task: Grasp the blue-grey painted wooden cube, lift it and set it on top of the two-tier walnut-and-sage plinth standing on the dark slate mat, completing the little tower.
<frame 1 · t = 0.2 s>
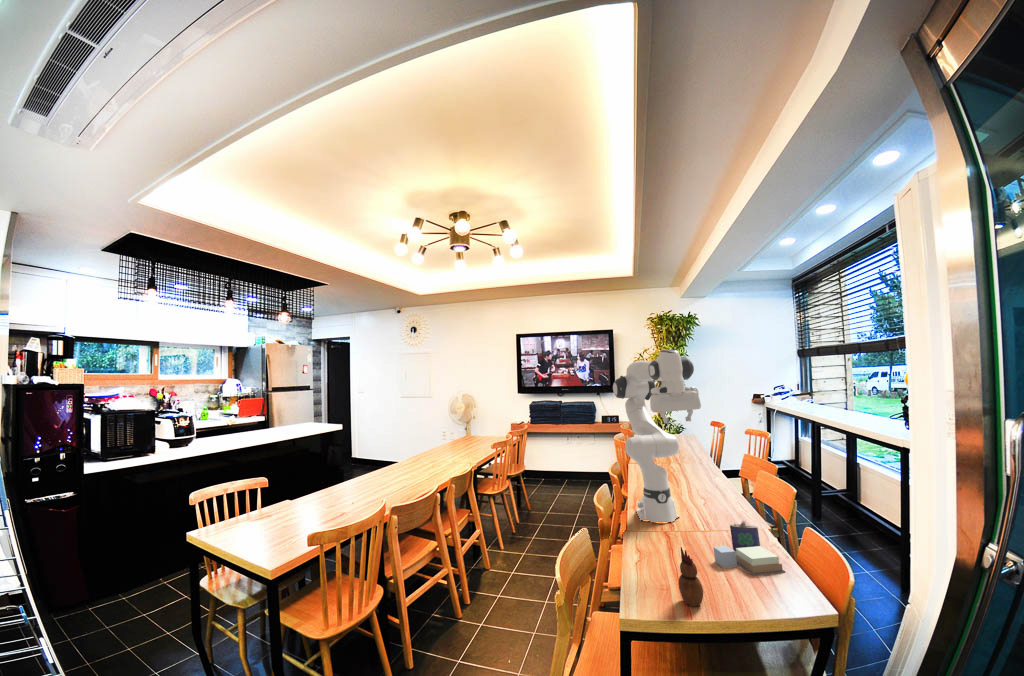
hand: (677, 422, 165), 47 cm above the table, fingers open, 8 cm apart
slate mat: (758, 566, 137), on the table
cube: (726, 564, 140), on the table
wooden figurine: (692, 603, 117), on the table
plinth: (757, 558, 137), on the slate mat
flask: (747, 551, 149), on the table
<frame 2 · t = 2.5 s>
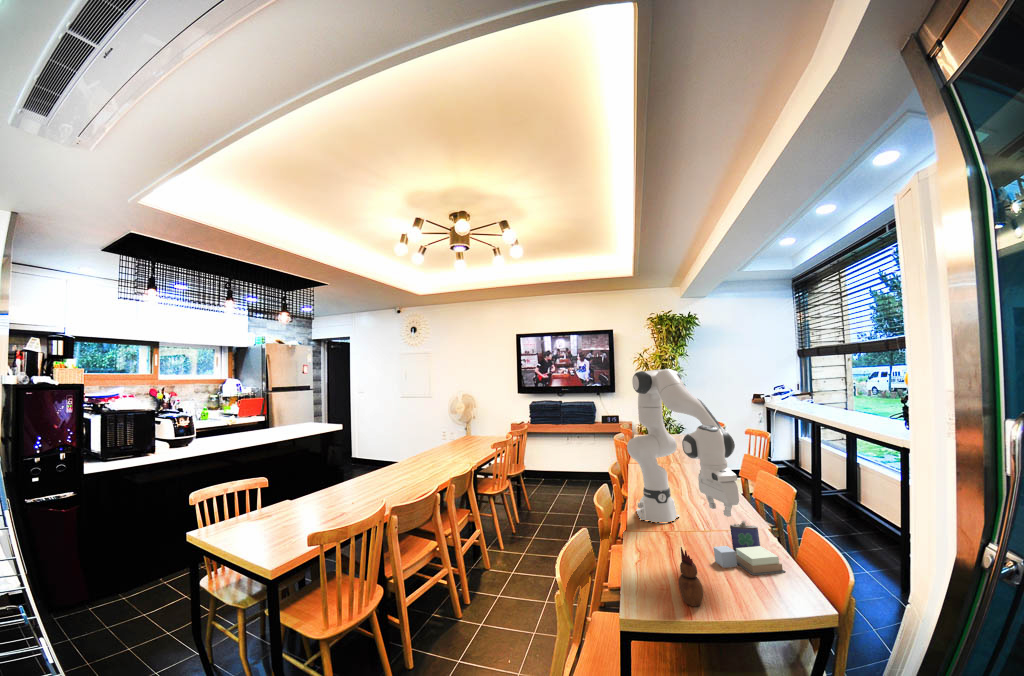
hand: (720, 512, 142), 17 cm above the table, fingers open, 8 cm apart
nothing on the table moved.
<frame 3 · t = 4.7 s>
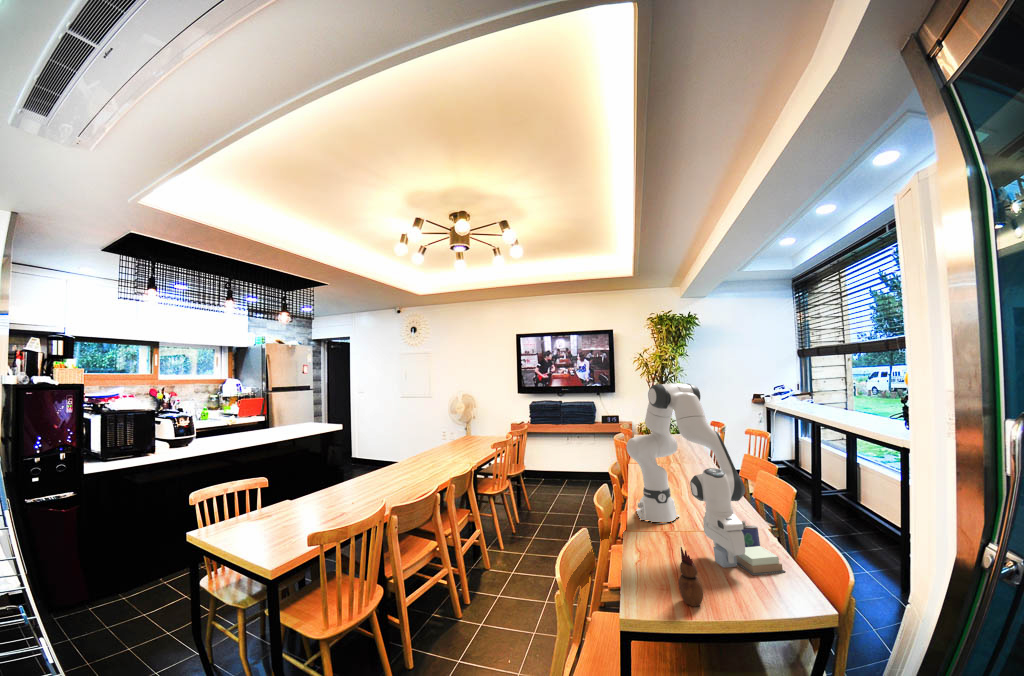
hand: (725, 558, 141), 2 cm above the table, fingers closed on cube, 5 cm apart
cube: (726, 563, 140), on the table, touching gripper
everything else where it was.
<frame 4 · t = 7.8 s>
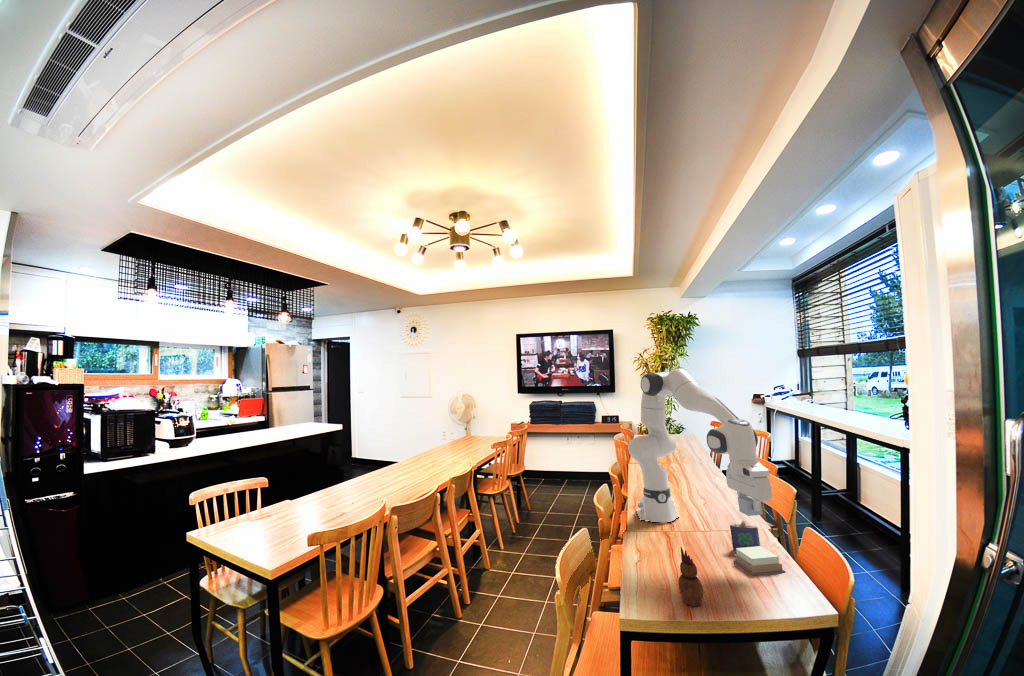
hand: (750, 507, 139), 19 cm above the table, fingers closed on cube, 5 cm apart
cube: (750, 513, 139), point 17 cm above the table, touching gripper
everything else where it was.
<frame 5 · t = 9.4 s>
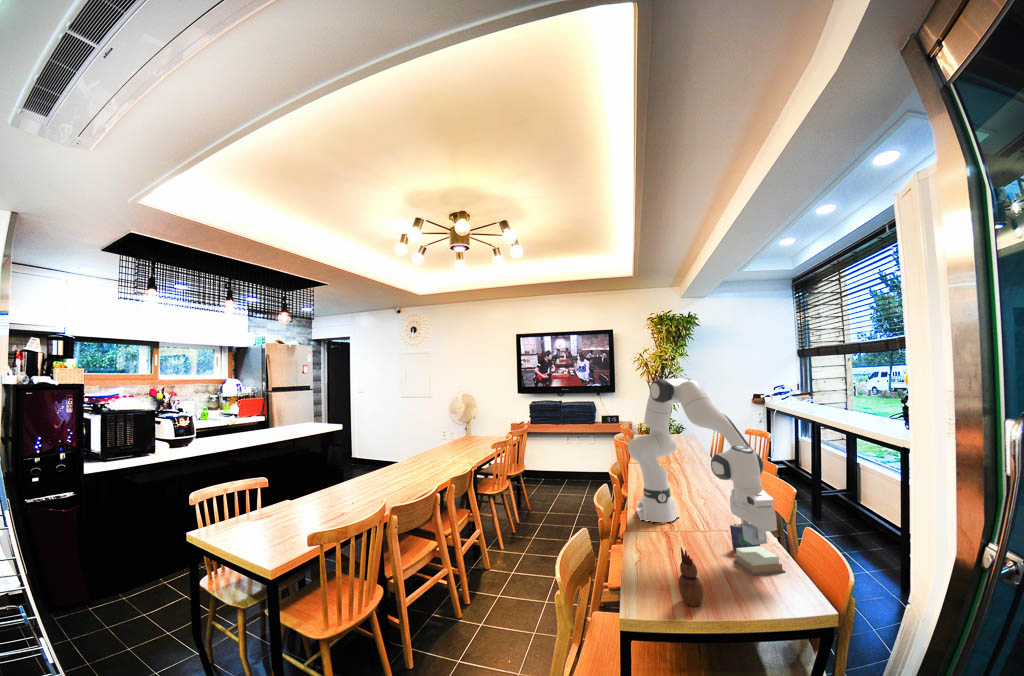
hand: (754, 536, 138), 10 cm above the table, fingers closed on cube, 5 cm apart
cube: (755, 541, 138), point 8 cm above the table, touching gripper
everything else where it was.
when the fingers open (7 cm above the table, at t = 10.8 s): cube stays where it is, resting on plinth.
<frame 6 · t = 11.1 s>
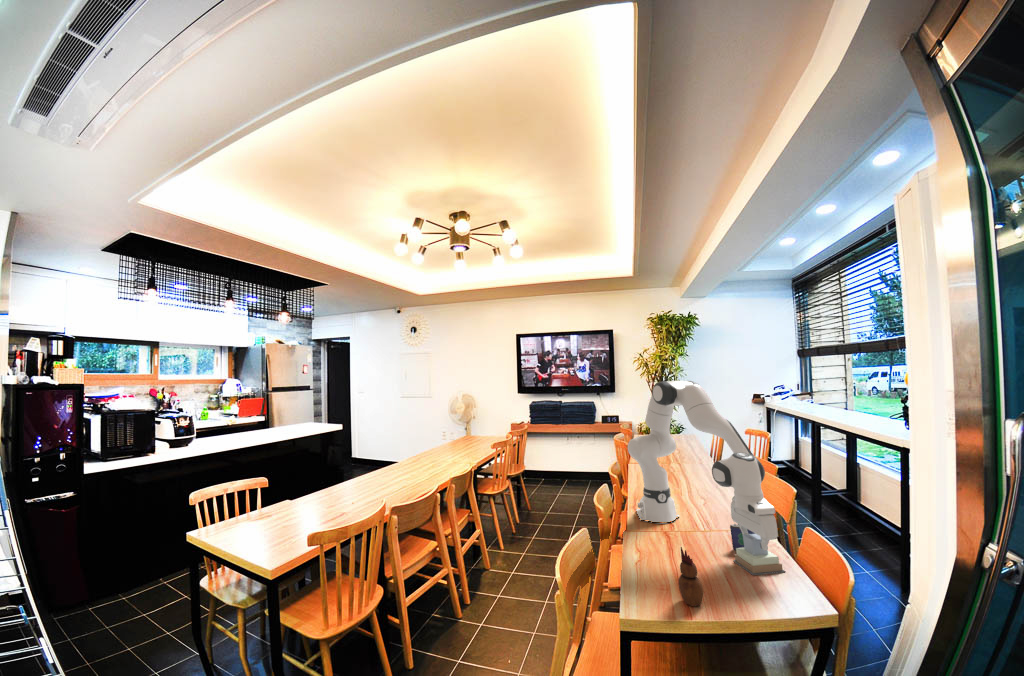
hand: (755, 543, 138), 7 cm above the table, fingers open, 8 cm apart
cube: (756, 552, 137), point 5 cm above the table, touching plinth
everything else where it was.
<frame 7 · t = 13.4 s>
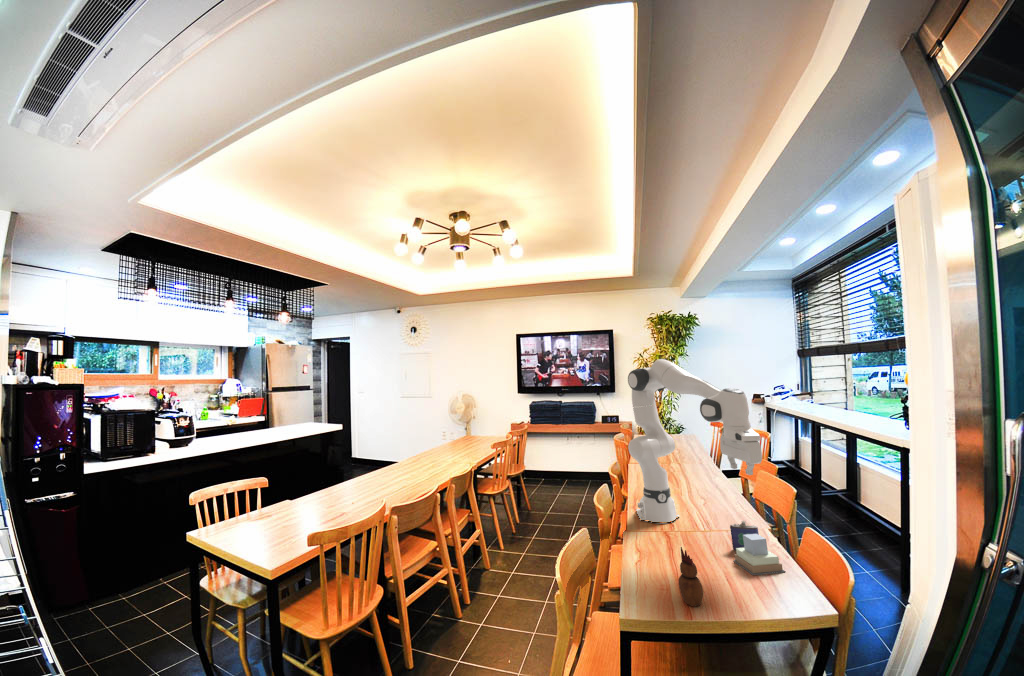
hand: (741, 471, 147), 30 cm above the table, fingers open, 8 cm apart
nothing on the table moved.
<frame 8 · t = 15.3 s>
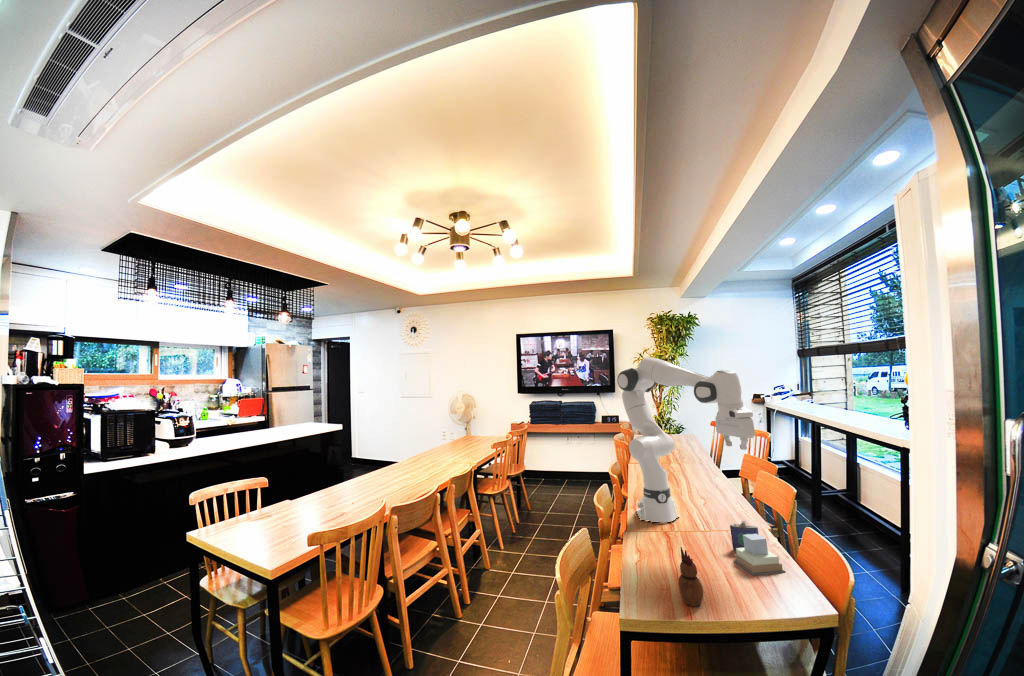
hand: (736, 447, 156), 37 cm above the table, fingers open, 8 cm apart
nothing on the table moved.
at the end: cube inside the target area on the plinth (0.1 cm from its centre), point 4.6 cm above the plinth's base; cube tilted 0°; the gripper is holding nothing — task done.
